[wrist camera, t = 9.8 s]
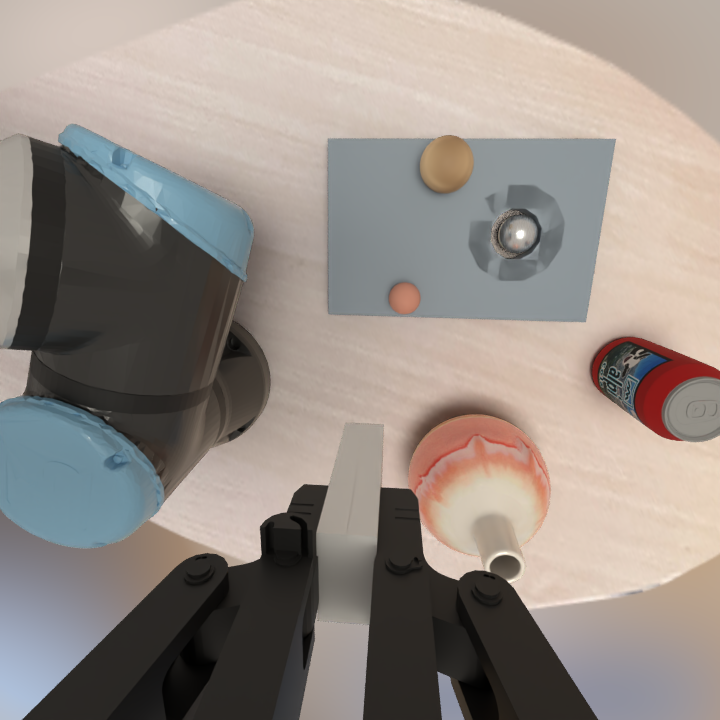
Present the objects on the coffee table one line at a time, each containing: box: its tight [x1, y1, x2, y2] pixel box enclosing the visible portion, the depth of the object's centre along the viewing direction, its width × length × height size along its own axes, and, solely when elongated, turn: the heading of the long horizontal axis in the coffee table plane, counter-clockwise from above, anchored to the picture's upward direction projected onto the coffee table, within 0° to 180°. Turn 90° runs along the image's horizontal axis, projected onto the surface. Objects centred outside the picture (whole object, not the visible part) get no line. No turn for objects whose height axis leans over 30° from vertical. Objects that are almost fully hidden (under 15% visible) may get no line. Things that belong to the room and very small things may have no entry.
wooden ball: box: [420, 135, 474, 194], centre depth 36 cm, size 4×4×4 cm
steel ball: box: [498, 215, 538, 253], centre depth 40 cm, size 4×4×4 cm
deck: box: [328, 139, 616, 322], centre depth 41 cm, size 25×16×2 cm, turn 89°
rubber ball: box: [389, 282, 421, 314], centre depth 40 cm, size 3×3×3 cm
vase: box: [408, 414, 551, 584], centre depth 40 cm, size 14×14×18 cm
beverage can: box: [592, 337, 720, 442], centre depth 39 cm, size 7×7×12 cm
